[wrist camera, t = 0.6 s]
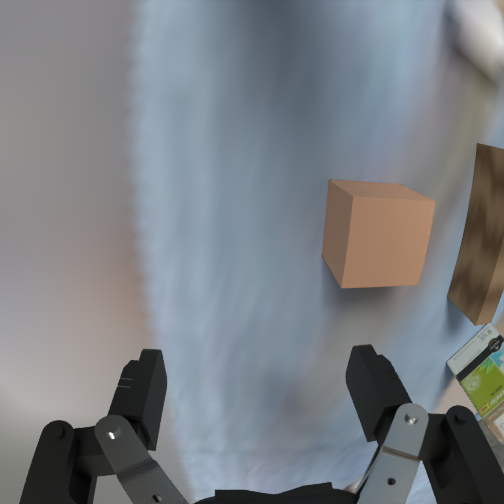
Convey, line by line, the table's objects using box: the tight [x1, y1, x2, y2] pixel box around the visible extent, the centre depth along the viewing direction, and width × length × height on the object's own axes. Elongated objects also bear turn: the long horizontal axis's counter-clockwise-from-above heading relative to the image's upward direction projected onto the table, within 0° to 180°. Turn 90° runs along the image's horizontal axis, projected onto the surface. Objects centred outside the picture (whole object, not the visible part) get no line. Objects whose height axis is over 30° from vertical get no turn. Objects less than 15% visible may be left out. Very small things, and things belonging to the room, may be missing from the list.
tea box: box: [447, 323, 504, 444], centre depth 36 cm, size 15×10×15 cm, turn 46°
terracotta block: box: [322, 180, 436, 288], centre depth 29 cm, size 8×8×7 cm
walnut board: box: [447, 143, 504, 326], centre depth 30 cm, size 20×3×7 cm, turn 179°
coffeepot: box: [478, 420, 504, 474], centre depth 46 cm, size 15×9×18 cm, turn 71°
